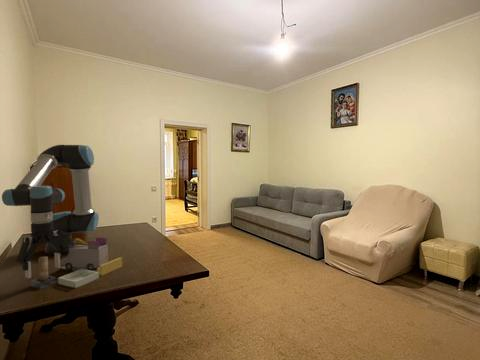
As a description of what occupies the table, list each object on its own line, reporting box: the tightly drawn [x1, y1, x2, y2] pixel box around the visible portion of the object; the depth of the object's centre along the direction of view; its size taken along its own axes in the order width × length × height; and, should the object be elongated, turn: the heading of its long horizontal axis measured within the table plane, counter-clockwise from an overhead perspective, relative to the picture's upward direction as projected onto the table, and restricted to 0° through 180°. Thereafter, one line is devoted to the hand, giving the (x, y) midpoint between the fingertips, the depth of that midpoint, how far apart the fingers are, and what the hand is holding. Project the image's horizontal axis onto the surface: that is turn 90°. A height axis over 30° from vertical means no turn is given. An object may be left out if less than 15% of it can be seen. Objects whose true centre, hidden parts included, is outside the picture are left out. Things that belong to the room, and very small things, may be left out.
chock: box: [97, 257, 123, 276], centre depth 127 cm, size 3×12×4 cm, turn 158°
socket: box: [30, 274, 57, 290], centre depth 112 cm, size 6×6×2 cm
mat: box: [60, 266, 101, 277], centre depth 132 cm, size 26×14×1 cm, turn 68°
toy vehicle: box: [60, 236, 110, 271], centre depth 130 cm, size 9×20×15 cm, turn 87°
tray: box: [57, 269, 100, 289], centre depth 115 cm, size 11×11×3 cm
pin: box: [38, 255, 49, 282], centre depth 112 cm, size 3×3×12 cm
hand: (43, 272), depth 112 cm, fingers open, 11 cm apart
